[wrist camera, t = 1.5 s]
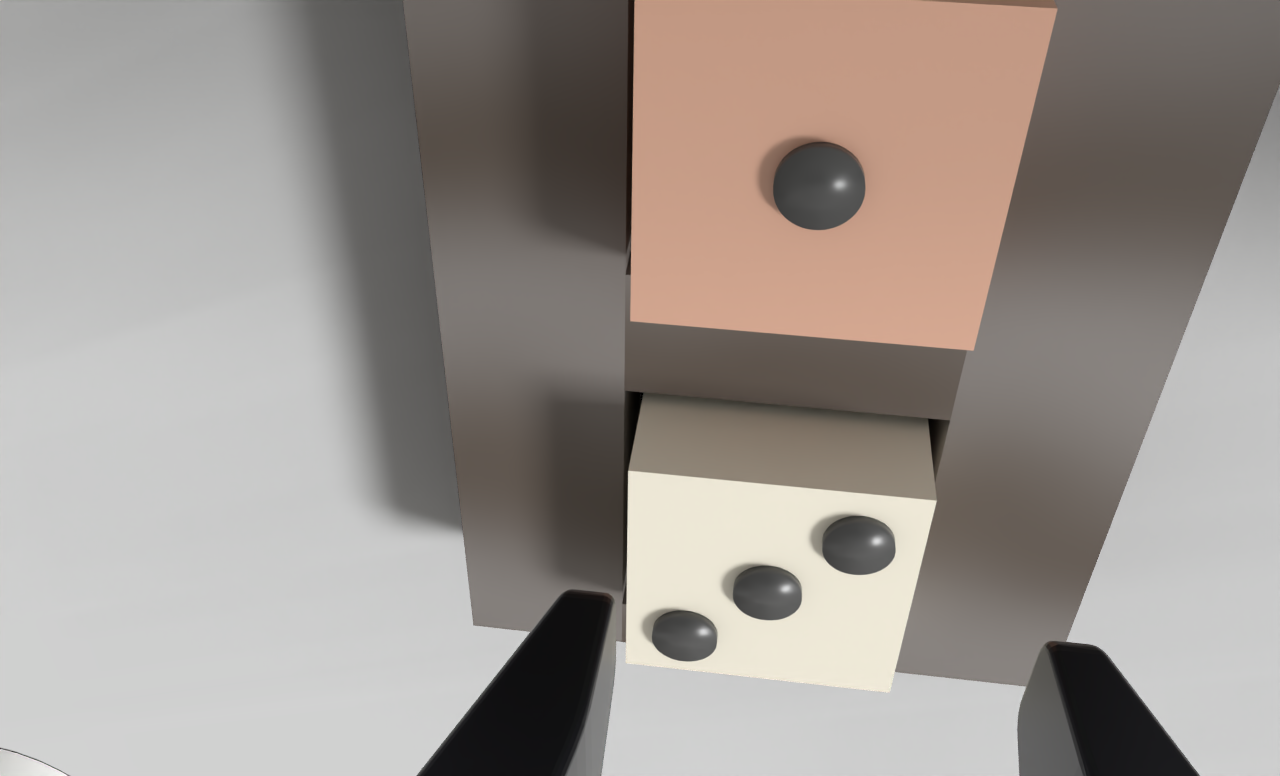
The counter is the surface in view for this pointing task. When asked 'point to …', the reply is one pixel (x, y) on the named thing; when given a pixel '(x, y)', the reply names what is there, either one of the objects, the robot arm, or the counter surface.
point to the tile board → (812, 366)
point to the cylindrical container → (24, 766)
